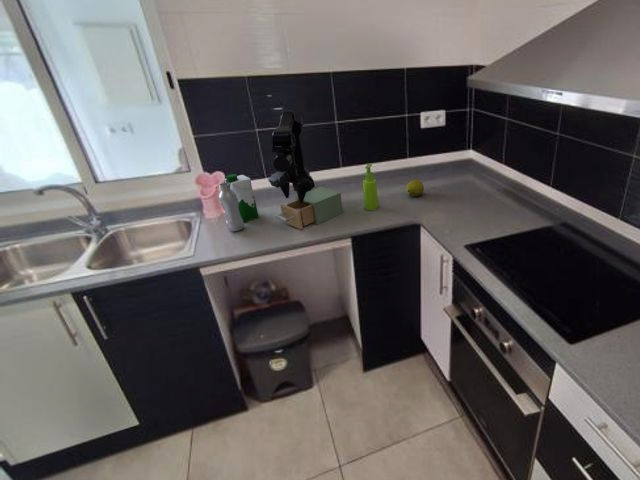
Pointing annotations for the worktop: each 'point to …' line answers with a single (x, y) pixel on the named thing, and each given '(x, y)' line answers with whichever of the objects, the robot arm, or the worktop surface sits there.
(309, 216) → the drawer
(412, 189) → the lemon
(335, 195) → the green drawer box
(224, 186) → the plastic bottle
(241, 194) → the milk carton
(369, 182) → the soap dispenser
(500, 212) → the worktop surface
